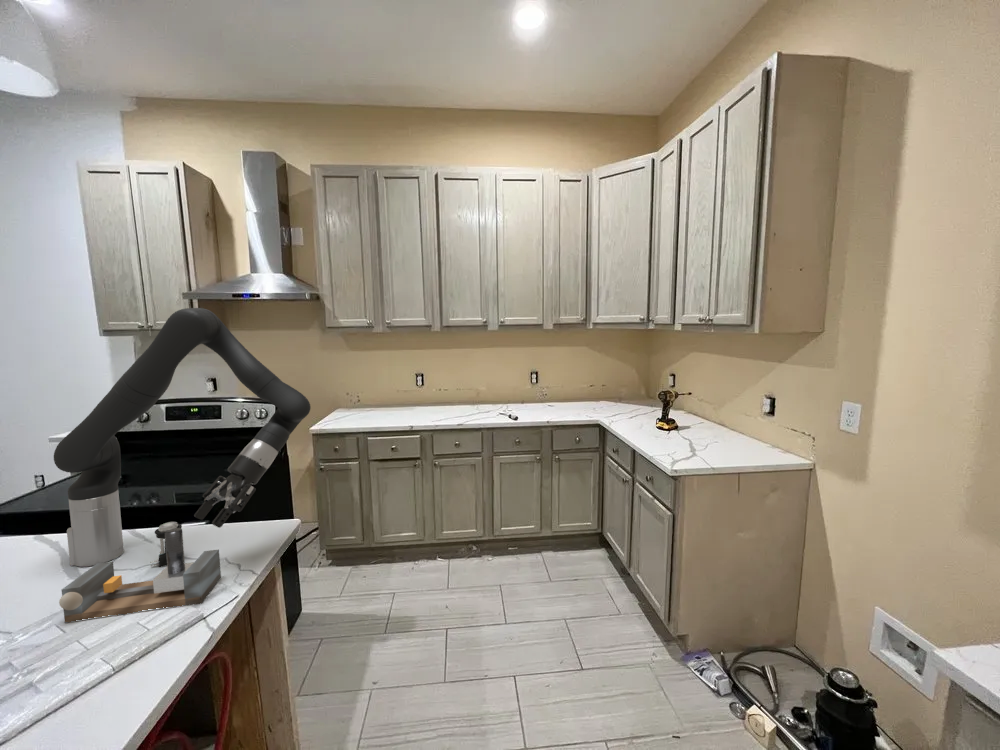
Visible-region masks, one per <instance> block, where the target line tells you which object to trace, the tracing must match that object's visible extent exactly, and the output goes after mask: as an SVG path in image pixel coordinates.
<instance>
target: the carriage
mask: <svg viewBox="0 0 1000 750" xmlns="http://www.w3.org/2000/svg"><path fill="white" fill-rule="evenodd" d="M165 543H166V555H167V565H166V567H165V568H163V570H162V571H161V572H160V573H159V574H157V575H156V576H155V578H153V579H152V581H153V587H154V594H155V593H162V592H169V591H177V590H184V581H183V574H184V572H185V571H186V570H187V569H188V568H189V567H190V566H191V565H192V564H193V563H194V562H195V561H194V562H185V549H184V548H185V547H184V540H183V528H175V529H171V530H168V531H166V532H165V539H164V544H165Z"/></svg>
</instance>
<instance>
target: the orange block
mask: <svg viewBox="0 0 1000 750" xmlns="http://www.w3.org/2000/svg"><path fill="white" fill-rule="evenodd" d="M122 584H123V577H122V574H121V575H114V576H113V577H111V578H110V579H109V580H108V581H107V582H105V583H104V584H103V587H104V593H110V592H114V591H115V590H116V589H117V588H118V587H120V586H121V585H122Z"/></svg>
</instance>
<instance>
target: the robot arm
mask: <svg viewBox="0 0 1000 750" xmlns="http://www.w3.org/2000/svg"><path fill="white" fill-rule="evenodd" d="M199 345H204V346H205V347H207V348H209V349H210V350H211V351H213V352H215V353H216V354H217V355H218V356H219V357H220V358H221V359H222V360H223V361H224V362H225V363H226V364H227V365H228V367H229V368H230V370H231V371H232V372H233V374H234V376H235V377H236V378H237V379H238V381H239V382H241V384H242V385H243V386H245V387H246V388H247V389H248V390H250V391H251V392H252V393H253V394H254V395H255V396H257V397H258V398H259V399H260V400H262V401H264V402H269V403H271V404H272V405H273V406H275V407H276V408H277V409H276V410H275V411H274V413H273V415H272V416H271V417H270V419H269V420H268V422H267V423H265V424H264V426H262V427H261V429H260V430H259V431H258V432H257V433H256V435H255V436H254V437H253V439H251V441H250V442H248V444H247V445H246V446H244V448H243V449H242V450H241V451H240V453H239V454H238V455H237V456H236V457H235V458H234V460H233V461H232V463H231V464H230V465H229V466H228V468H227V472H228V473H229V475H228V476H227V477H224V476H222V475H219V476H218V477H216V479H215V480H214V482H212V484H211V485H210V486H209V487H208V488H207V490H206V491H205V492H204V493H203V494H202V498H204V499H203V501H204V502H203V503H202V504H201V505H200V506H199V508H198V509H197V510H196V512H195V513H194V514H193V516H194V517H195V518H196V519H198V520H201V521H202V520H204V519H205V518H206V516H208V514H209V512H210V511H211V510H212V509H213V507H214V505H216V504H217V503H219V502H222V501H225V504H224V507H223V508H222V509H221V510H220V511H219V513H218V514H217V515H216V516H215V517H214V519H213V520H212V521H211V525H212V526H213V527H216V528H219V529H220V528H222V527H223V525H224V524H225V523H226V521H228V520H229V517H230V516H231V515H232V514H235V513H236V512H239V513H240V512H242V511H243V510H244V508H245V507H246V505H247V503H248V502H249V501H250V499H251V498H252V497H253V495H254V494H255V493H256V491H257V489H256V487H254V486H252V485H257V484H258V482H259V481H260V480H261V478H262V477H263V475H264V474H265V473H266V472H267V471H268V469H269V468H270V467H271V465H272V464H273V462H274V460H275V459H276V457H277V456H278V454H279V452H280V451H281V450H282V449H283V447H284V446H285V444H286V443H287V442H288V440H289V438H290V435H291V434H292V433H293V432H294V431H295V429H296V428H297V427H298V426H299V424H300V423H301V422H302V421H303V420H304V419H305V418H307V416H308V415H309V414H310V412H311V409H312V408H311V402H310V401H309V399H308V397H306V396H305V395H304V393H302V392H300V391H299V390H297V389H296V388H295V387H292V386H291V385H290V384H287V383H286V382H284V381H282V379H280V378H279V376H277V375H276V374H275V373H274V372H273V371H271V370H270V369H269V368H268V367H267V366H266V365H264V364H263V363H262V362H261V361H259V360H258V359H257V358H256V357H255V356H254V355H253V354H252V353H251V352H250V351H249V350H248V349H247V348H246V347H245V346H244V345H243V344H242V343H241V342H240V341H239V340H238V339H237V338H236V336H235V335H234V334H233V332H232V331H230V330H229V328H228V327H227V326H226V325H225V324H224V322H222V320H221V319H220V318H219V317H218V316H217V314H215V313H214V312H213V311H211V310H209V309H206V308H203V307H187V308H181V309H178V310H177V311H174V312H173V313H172V314H171V315H170V316H169V317H168V318H167V319H166V320H165V322H164V324H163V326H162V327H161V328H160V330H159V331H158V334H157V335H156V336H155V338H154V339H153V341H152V342H151V344H150V345H149V346H148V347H147V349H145V350H144V352H142V353H141V355H140V356H138V358H137V359H136V360H135V361H134V362H133V363H132V365H131V366H130V367H129V368H128V369H127V370H126V371H125V372H124V373H123V374H122V375H121V376H120V378H119V379H118V380H117V381H116V382H115V383H114V385H113V386H112V387H111V388H110V389H109V391H107V394H106V395H104V396H103V398H102V399H101V401H99V403H97V405H96V406H95V407H94V408H93V409H92V411H90V413H89V414H88V415H87V416H86V417H85V418H84V419H83V420H82V421H81V422H79V424H78V425H77V426H75V428H73V429H72V430H71V431H70V433H68V434H67V435H66V436H64V438H63V439H61V440H60V442H58V443H57V445H56V446H55V450H54V452H53V462H54V464H55V466H56V467H57V468H58V469H59V470H60V471H62V472H64V473H65V472H66V473H73V474H75V473H80V472H81V473H80V476H79V477H78V478H77V480H75V481H74V482H73V483H72V484H71V485H70V486H69V487H68V489H67V498H68V507H69V508H68V509H69V516H70V526H71V527H68V528H67V530H66V535H67V547H68V557H69V565H70V566H72V567H73V566H75V567H81V568H83V567H93V566H94V565H96V564H99V563H107V562H111V561H112V560H115V559H117V558H118V557H120V556H121V555H123V553H125V552H124V538H123V537H124V536H123V527H122V517H121V515H122V514H121V505H120V496H119V493H120V492H119V482H120V480H121V478H122V477H121V476H122V459H121V446H120V443H119V441H118V438H117V437H116V436H115V435H116V434H117V433H119V431H120V430H122V429H124V428H125V427H127V426H128V425H130V424H131V423H133V422H135V421H136V420H137V419H138V418H139V419H140V417H141V416H143V415H144V414H146V413H147V412H148V411H149V410H150V409H151V408H153V406H154V405H155V404H156V403H157V402H158V401H159V399H161V398H162V396H163V395H164V393H166V391H167V390H168V388H169V387H170V385H171V382H172V379H173V377H174V374H175V371H176V369H177V367H178V366H179V364H180V363H181V362H182V361H183V359H185V358H186V357H187V355H189V354H190V353H191V352H192V351H193V350H194V349H195V348H196V347H198V346H199Z"/></svg>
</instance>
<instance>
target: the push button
mask: <svg viewBox="0 0 1000 750" xmlns="http://www.w3.org/2000/svg"><path fill="white" fill-rule="evenodd" d="M182 527H183V525H182V524H180V523H178V522H177V521H168V522H165V523H163V524H160V525H159V527H158V528H156V529H155V530H154V534H155V536H156V538H157V539H159V541H160V552H159V554H158V558H157V559H156V560H152V561H150V562H149V564H151V565H150V566H149V567H151V568H152V567H154V566H155V567H156V566H159V567H160V568H162V567H165V566H166V567H167V555H166V543H165V532H166V531H168V530H171V529H175V528H182ZM182 529H183V528H182ZM153 563H154V564H153ZM161 566H162V567H161Z"/></svg>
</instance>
